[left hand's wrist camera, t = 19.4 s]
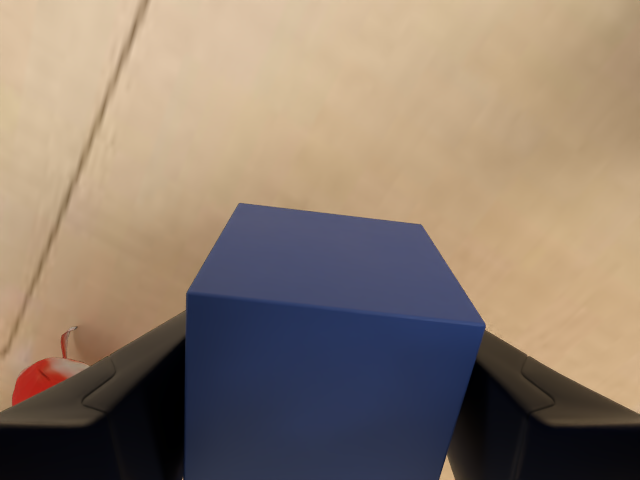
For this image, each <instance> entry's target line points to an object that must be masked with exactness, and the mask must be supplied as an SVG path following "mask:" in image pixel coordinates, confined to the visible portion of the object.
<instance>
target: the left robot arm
mask: <svg viewBox="0 0 640 480" xmlns="http://www.w3.org/2000/svg"><path fill="white" fill-rule="evenodd" d="M185 339H186V310H185V311H184V312H182V313H180V314H179V315H177V316H175V317H173V318H172V319H170V320H168V321H167V322H165V323H163V324H162V325H160V326H158V327H156V328H155V329H153V330H151V331H150V332H148V333H146V334H145V335H143V336H141V337H139V338H138V339H136V340H134V341H133V342H131V343H129V344H127V345H126V346H124V347H122V348H121V349H119V350H117V351H116V352H114V353H112V354H111V355H110V357H109V356H107V357H105V358H104V359H102V360H100V361H99V362H97V363H95V364H93V365H92V366H90V367H88V368H86V369H84V370H83V371H81V372H79V373H77V374H75V375H74V376H72V377H70V378H68V379H66V380H64V381H62V382H60V383H58V384H56V385H54V386H52V387H50V388H48V389H46V390H44V391H42V392H40V393H38V394H36V395H34V396H32V397H30V398H28V399H26V400H24V401H22V402H20V403H18V404H16V405H14V406H12V407H10V408H8V409H6V410H4V411H2V412H0V480H182V479H183V464H184V402H185ZM447 457H448V460H449V463H450V466H451V469H452V472H453V475H454V477H455V480H640V414H638V413H636V412H634V411H632V410H630V409H628V408H626V407H624V406H622V405H620V404H618V403H616V402H614V401H612V400H610V399H608V398H606V397H604V396H602V395H600V394H598V393H596V392H594V391H592V390H590V389H588V388H586V387H584V386H582V385H581V384H579V383H577V382H575V381H573V380H571V379H569V378H567V377H565V376H563V375H561V374H559V373H558V372H556V371H554V370H552V369H551V368H549V367H547V366H545V365H544V364H542V363H540V362H538V361H537V360H535V359H533V358H532V357H530V356H528V357H527V354H525V353H523V352H522V351H520V350H518V349H516V348H515V347H513V346H511V345H510V344H508V343H506V342H505V341H503V340H501V339H500V338H498V337H496V336H495V335H493V334H491V333H490V332H488V331H486V330H485V331H484V334H483V337H482V341H481V344H480V347H479V350H478V354H477V357H476V360H475V363H474V367H473V370H472V373H471V377H470V380H469V383H468V386H467V390H466V393H465V396H464V399H463V403H462V406H461V409H460V413H459V416H458V419H457V422H456V426H455V429H454V432H453V435H452V439H451V442H450V445H449V449H448V452H447Z"/></svg>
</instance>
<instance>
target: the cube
mask: <svg viewBox="0 0 640 480" xmlns="http://www.w3.org/2000/svg"><path fill="white" fill-rule="evenodd" d="M485 327H486V325H485V322H484V321H483V319H482V318H481V316H480V315H479V313H478V312H477V310H476V309H475V307H474V305H473V304H472V302H471V301H470V299H469V298H468V296H467V295H466V293H465V291H464V290H463V288H462V287H461V285H460V284H459V282H458V281H457V279H456V277H455V276H454V274H453V273H452V271H451V270H450V268H449V267H448V265H447V263H446V262H445V260H444V259H443V257H442V256H441V254H440V253H439V251H438V249H437V248H436V246H435V245H434V243H433V242H432V240H431V239H430V237H429V235H428V234H427V232H426V231H425V229H424V228H423V226H422V225H421V224H412V223H404V222H395V221H387V220H379V219H370V218H362V217H353V216H345V215H336V214H328V213H320V212H311V211H303V210H294V209H286V208H277V207H269V206H261V205H252V204H244V203H239V204H238V206H237V207H236V209H235V211H234V212H233V214H232V216H231V218H230V219H229V221H228V223H227V224H226V226H225V228H224V230H223V231H222V233H221V235H220V236H219V238H218V240H217V242H216V243H215V245H214V247H213V248H212V250H211V252H210V254H209V255H208V257H207V259H206V260H205V262H204V264H203V265H202V267H201V269H200V271H199V272H198V274H197V276H196V277H195V279H194V281H193V283H192V284H191V286H190V288H189V289H188V291H187V293H186V339H185V402H184V464H183V480H439V478H440V475H441V471H442V468H443V465H444V462H445V458H446V455H447V452H448V449H449V445H450V442H451V439H452V435H453V432H454V429H455V426H456V422H457V419H458V416H459V413H460V409H461V406H462V403H463V399H464V396H465V393H466V390H467V386H468V383H469V380H470V377H471V373H472V370H473V367H474V363H475V360H476V357H477V354H478V350H479V347H480V344H481V341H482V337H483V334H484V331H485Z"/></svg>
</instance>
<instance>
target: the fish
mask: <svg viewBox="0 0 640 480" xmlns="http://www.w3.org/2000/svg"><path fill="white" fill-rule="evenodd" d="M76 328H77V327H71V328H69V330H68V331H67V332H66V333H64V334H63V335H62V337H61V348H62V354H63V358H55V357H51V358H47V359H44V360H41V361H38V362H36V363H35V364H33V365H31V366H29V367H27V368H26V369H24V370H23V371H22V372H21V373H20V375H19V376H18V378H17V381H16V385H15V390H14V392H13V397H12V406H14V405H16V404H18V403H20V402H22V401H24V400H26V399H28V398H30V397H32V396H34V395H36V394H38V393H40V392H42V391H44V390H46V389H48V388H50V387H52V386H54V385H56V384H58V383H60V382H62V381H64V380H66V379H68V378H70V377H72V376H74V375H75V374H77V373H79V372H81V371H83V370H84V369H86V368H88V367H90V366H89V365H87V364H85V363H82V362H79V361H75V360H71V359H66V358H67V343H68V337H69V333H70V331H72V330H75V329H76Z"/></svg>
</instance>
